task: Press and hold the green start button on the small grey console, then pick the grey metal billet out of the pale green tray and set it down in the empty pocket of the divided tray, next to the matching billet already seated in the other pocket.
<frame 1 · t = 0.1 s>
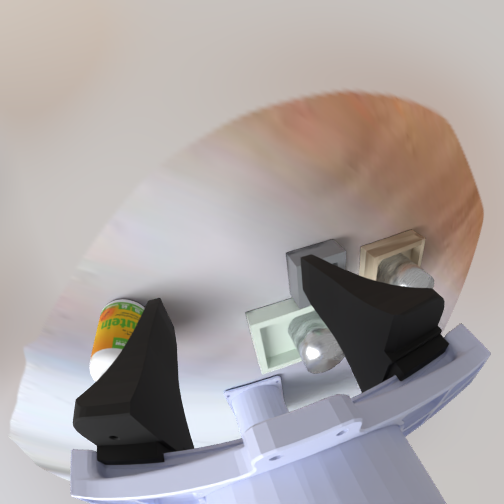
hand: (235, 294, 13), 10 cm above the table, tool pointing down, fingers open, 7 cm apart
console: (311, 267, 27), on the table
supplement bottle: (126, 317, 24), on the table
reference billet: (390, 268, 29), point 1 cm above the table, touching divided tray
divided tray: (382, 286, 32), on the table
billet: (306, 324, 30), resting on pale green tray
pale green tray: (305, 322, 30), on the table
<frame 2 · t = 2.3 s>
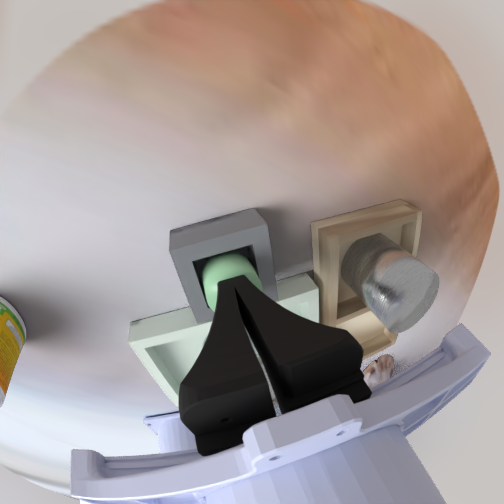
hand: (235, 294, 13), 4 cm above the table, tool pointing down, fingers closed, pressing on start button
console: (221, 256, 17), on the table
supplement bottle: (3, 317, 14), on the table
start button: (230, 283, 14), point 3 cm above the table, slide at 0.6 cm, touching gripper
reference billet: (366, 260, 19), point 1 cm above the table, touching divided tray
divided tray: (357, 288, 21), on the table
pale green tray: (231, 341, 20), on the table
seashell: (362, 383, 32), on the table
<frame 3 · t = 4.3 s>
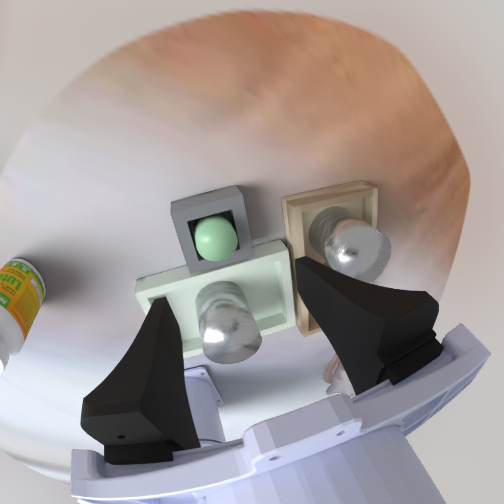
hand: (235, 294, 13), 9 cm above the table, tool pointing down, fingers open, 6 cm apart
console: (210, 222, 21), on the table
supplement bottle: (25, 280, 19), on the table
start button: (215, 236, 19), point 3 cm above the table, slide at 1.0 cm
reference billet: (331, 230, 23), point 1 cm above the table, touching divided tray
divided tray: (327, 257, 26), on the table
billet: (220, 301, 25), resting on pale green tray
pale green tray: (219, 299, 25), on the table
seashell: (347, 354, 36), on the table
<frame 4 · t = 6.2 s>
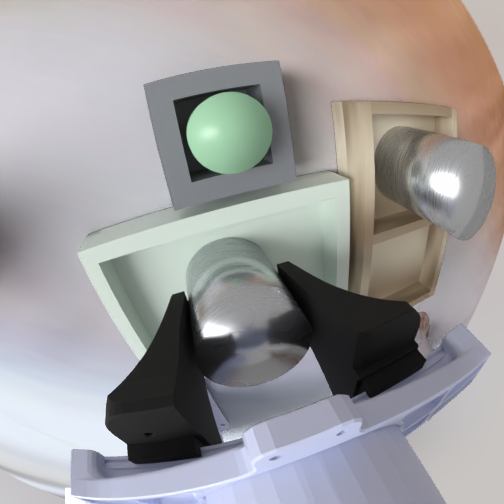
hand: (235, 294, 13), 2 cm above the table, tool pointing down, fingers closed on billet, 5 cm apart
console: (215, 129, 11), on the table
basket: (105, 498, 38), on the table
start button: (225, 131, 9), point 3 cm above the table, slide at 1.0 cm
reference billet: (401, 163, 13), point 1 cm above the table, touching divided tray
divided tray: (389, 210, 16), on the table
billet: (228, 276, 15), resting on pale green tray, touching gripper
pale green tray: (227, 272, 15), on the table
seashell: (392, 352, 26), on the table
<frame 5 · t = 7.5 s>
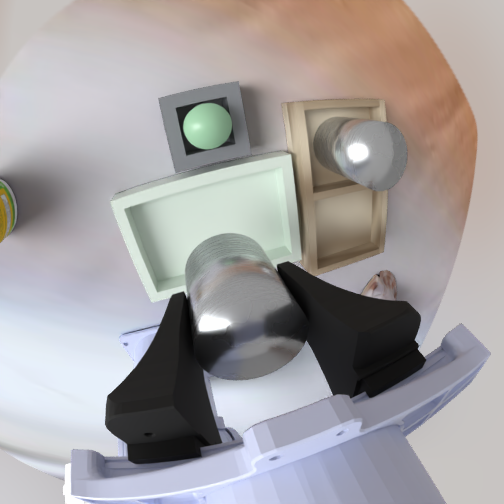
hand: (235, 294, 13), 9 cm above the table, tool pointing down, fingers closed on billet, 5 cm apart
console: (202, 124, 17), on the table
basket: (104, 475, 44), on the table
start button: (206, 125, 15), point 3 cm above the table, slide at 1.0 cm
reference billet: (338, 144, 20), point 1 cm above the table, touching divided tray
divided tray: (335, 181, 22), on the table
billet: (227, 272, 15), point 7 cm above the table, touching gripper
pale green tray: (210, 222, 21), on the table
seashell: (364, 310, 32), on the table
when the fingers open (4 cm above the table, at t = 10.0 s): billet stays where it is, resting on divided tray.
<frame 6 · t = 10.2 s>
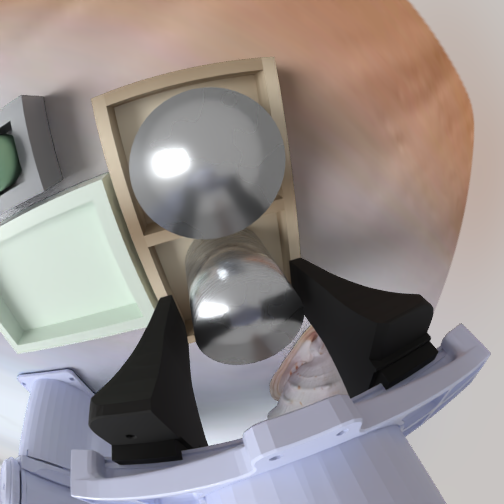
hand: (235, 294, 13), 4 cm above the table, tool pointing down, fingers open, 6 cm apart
console: (18, 155, 10), on the table
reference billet: (196, 147, 12), point 1 cm above the table, touching divided tray
divided tray: (209, 205, 15), on the table
billet: (225, 262, 15), point 1 cm above the table, touching divided tray
pale green tray: (51, 272, 14), on the table
seashell: (306, 360, 24), on the table
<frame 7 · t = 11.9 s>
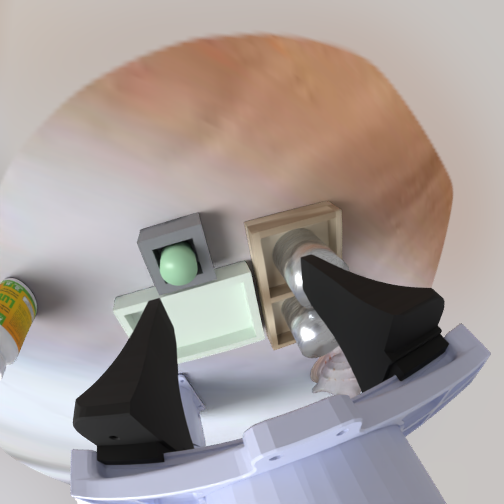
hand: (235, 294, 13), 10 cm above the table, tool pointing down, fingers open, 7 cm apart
console: (177, 247, 23), on the table
supplement bottle: (19, 296, 20), on the table
start button: (178, 263, 20), point 3 cm above the table, slide at 1.0 cm
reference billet: (296, 251, 25), point 1 cm above the table, touching divided tray
divided tray: (295, 275, 27), on the table
billet: (301, 304, 28), point 1 cm above the table, touching divided tray
pale green tray: (191, 315, 26), on the table
seashell: (334, 353, 37), on the table
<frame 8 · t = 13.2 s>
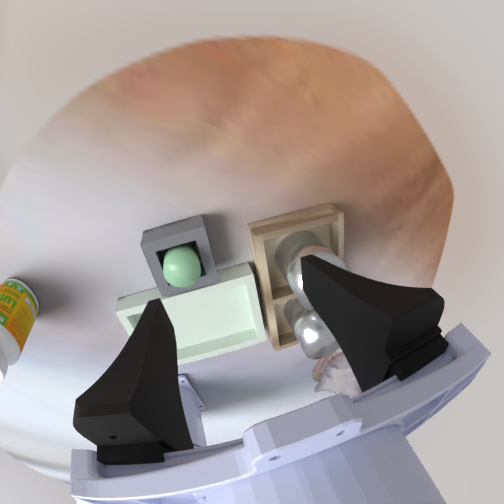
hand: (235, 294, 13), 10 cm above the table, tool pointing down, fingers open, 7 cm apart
console: (180, 249, 23), on the table
supplement bottle: (20, 297, 20), on the table
start button: (181, 264, 20), point 3 cm above the table, slide at 1.0 cm
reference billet: (298, 253, 25), point 1 cm above the table, touching divided tray
divided tray: (296, 277, 27), on the table
billet: (303, 306, 28), point 1 cm above the table, touching divided tray
pale green tray: (193, 316, 26), on the table
seashell: (336, 353, 37), on the table
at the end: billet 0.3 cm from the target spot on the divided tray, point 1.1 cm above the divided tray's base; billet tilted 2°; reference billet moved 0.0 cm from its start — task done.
